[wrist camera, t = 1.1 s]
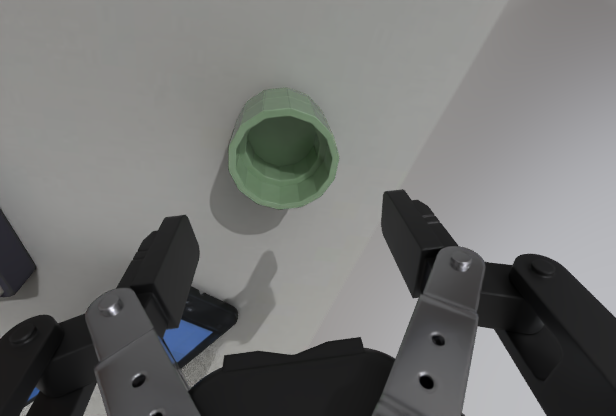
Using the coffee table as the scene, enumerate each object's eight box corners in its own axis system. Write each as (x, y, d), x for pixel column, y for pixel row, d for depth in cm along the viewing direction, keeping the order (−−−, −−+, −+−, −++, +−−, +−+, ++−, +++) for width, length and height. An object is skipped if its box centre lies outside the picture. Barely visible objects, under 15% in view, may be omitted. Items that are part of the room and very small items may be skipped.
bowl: (227, 91, 19) (214, 116, 15) (324, 80, 19) (338, 102, 15) (246, 175, 22) (240, 214, 18) (328, 165, 22) (340, 202, 18)
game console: (165, 373, 36) (137, 468, 29) (39, 333, 30) (-39, 443, 22) (245, 307, 31) (236, 405, 23) (111, 243, 24) (40, 347, 17)
